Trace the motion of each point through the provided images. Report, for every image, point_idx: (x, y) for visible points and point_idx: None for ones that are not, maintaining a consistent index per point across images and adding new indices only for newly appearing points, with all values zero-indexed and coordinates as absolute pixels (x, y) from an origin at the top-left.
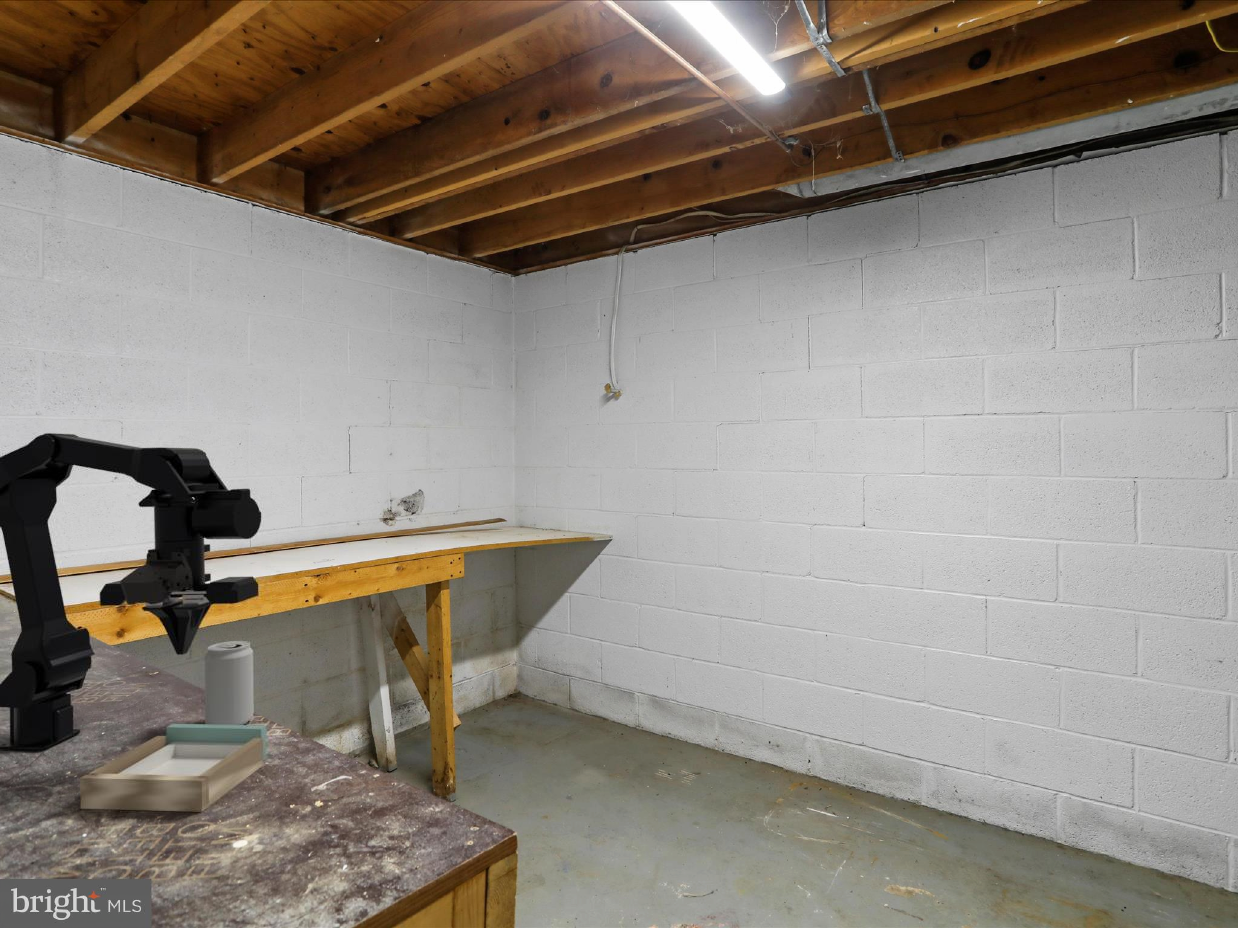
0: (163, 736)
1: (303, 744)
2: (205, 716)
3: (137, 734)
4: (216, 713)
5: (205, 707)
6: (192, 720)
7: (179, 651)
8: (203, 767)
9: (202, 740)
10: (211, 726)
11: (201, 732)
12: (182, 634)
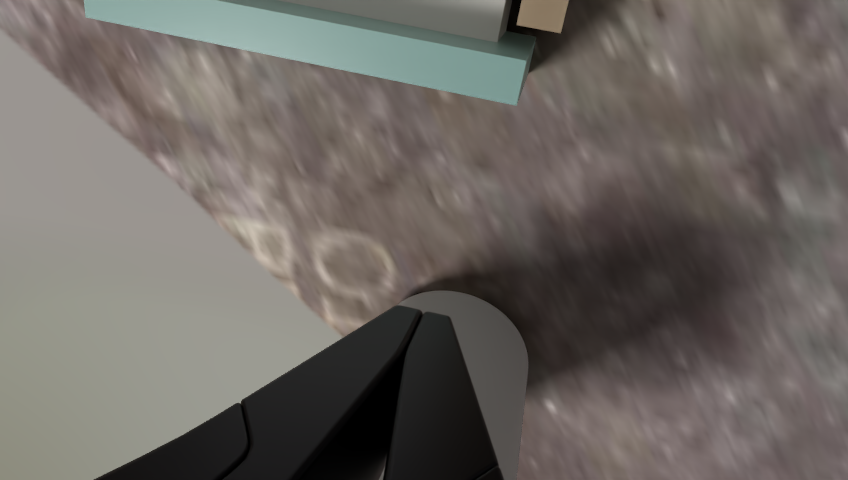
0: (528, 23)
1: (119, 117)
2: (515, 346)
3: (767, 323)
4: (454, 320)
5: (510, 366)
6: (603, 408)
7: (416, 319)
8: None
9: (363, 17)
10: (313, 39)
11: (356, 22)
12: (300, 393)
